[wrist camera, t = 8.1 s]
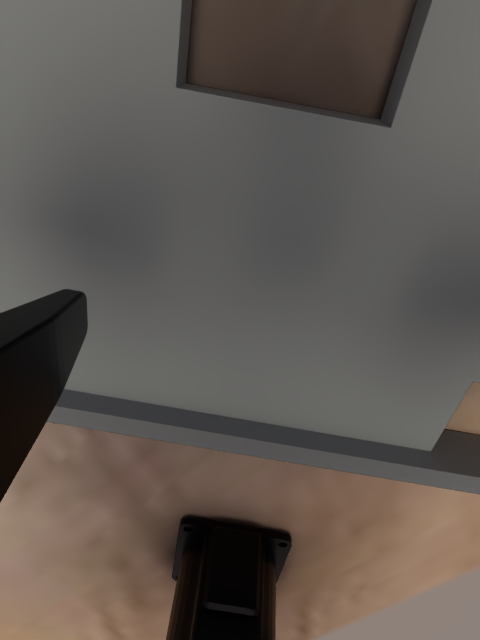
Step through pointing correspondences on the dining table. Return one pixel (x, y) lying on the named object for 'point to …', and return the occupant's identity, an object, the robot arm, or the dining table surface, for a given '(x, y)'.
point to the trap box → (249, 241)
